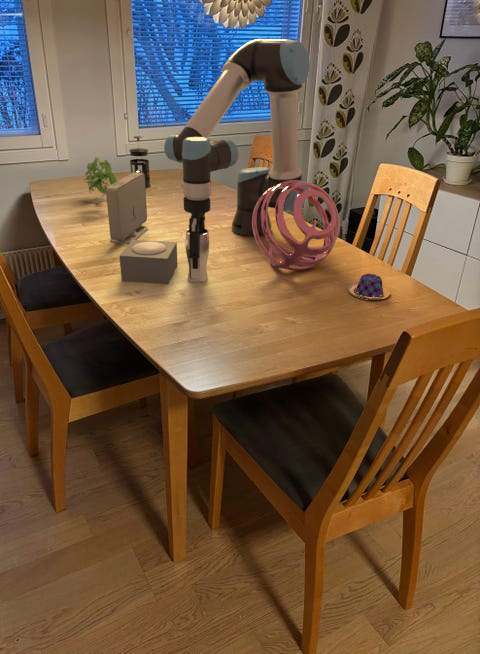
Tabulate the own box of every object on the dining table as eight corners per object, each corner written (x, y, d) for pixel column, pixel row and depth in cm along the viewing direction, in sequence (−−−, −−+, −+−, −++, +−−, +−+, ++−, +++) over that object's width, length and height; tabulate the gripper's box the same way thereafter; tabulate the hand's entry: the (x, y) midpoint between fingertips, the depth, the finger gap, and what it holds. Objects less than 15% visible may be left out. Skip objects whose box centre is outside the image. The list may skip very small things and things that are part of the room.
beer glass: (209, 274, 158) (209, 227, 151) (209, 283, 152) (209, 235, 145) (186, 274, 158) (185, 227, 151) (185, 283, 152) (184, 235, 144)
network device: (127, 247, 177) (122, 189, 167) (103, 245, 178) (97, 187, 168) (153, 225, 199) (150, 172, 189) (131, 223, 200) (127, 171, 190)
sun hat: (366, 305, 143) (369, 288, 141) (339, 289, 152) (342, 272, 150) (398, 298, 148) (401, 281, 146) (371, 282, 157) (373, 266, 155)
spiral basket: (235, 191, 170) (276, 156, 146) (307, 206, 182) (356, 176, 158) (235, 274, 166) (277, 252, 142) (308, 283, 178) (358, 264, 154)
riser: (177, 266, 163) (176, 240, 159) (168, 284, 151) (167, 257, 147) (134, 263, 164) (132, 238, 160) (121, 281, 152) (119, 254, 148)
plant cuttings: (115, 207, 242) (72, 180, 230) (135, 177, 238) (93, 147, 227) (124, 230, 213) (75, 200, 201) (147, 196, 209) (99, 164, 198)
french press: (127, 184, 253) (123, 135, 242) (145, 182, 258) (142, 134, 246) (137, 189, 244) (134, 139, 233) (155, 187, 249) (153, 137, 238)
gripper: (189, 187, 152) (190, 260, 163) (176, 205, 135) (179, 285, 146) (214, 188, 151) (214, 261, 162) (205, 206, 134) (205, 287, 145)
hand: (197, 272), depth 154 cm, fingers closed on beer glass, 6 cm apart
